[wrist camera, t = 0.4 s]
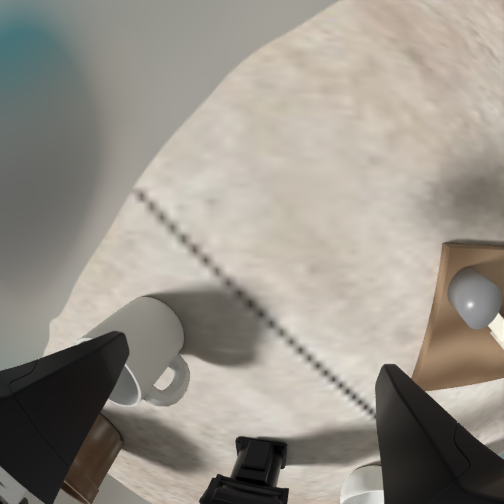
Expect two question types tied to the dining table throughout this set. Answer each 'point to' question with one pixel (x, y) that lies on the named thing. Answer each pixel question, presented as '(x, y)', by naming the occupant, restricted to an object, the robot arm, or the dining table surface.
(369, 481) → the teacup
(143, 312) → the cup
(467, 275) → the lever
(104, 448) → the plant pot
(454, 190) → the dining table surface
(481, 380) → the brown flat panel
